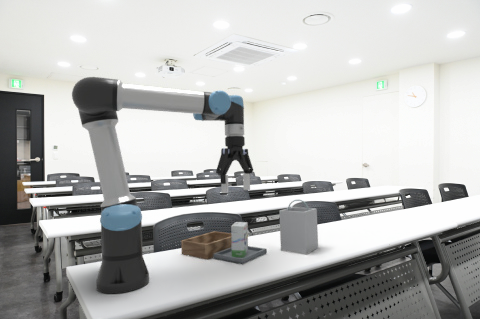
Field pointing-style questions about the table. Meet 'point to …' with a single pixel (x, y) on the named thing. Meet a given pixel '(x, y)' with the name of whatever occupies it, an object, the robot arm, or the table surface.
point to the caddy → (298, 230)
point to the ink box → (239, 239)
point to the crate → (206, 244)
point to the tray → (250, 255)
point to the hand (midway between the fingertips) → (236, 191)
